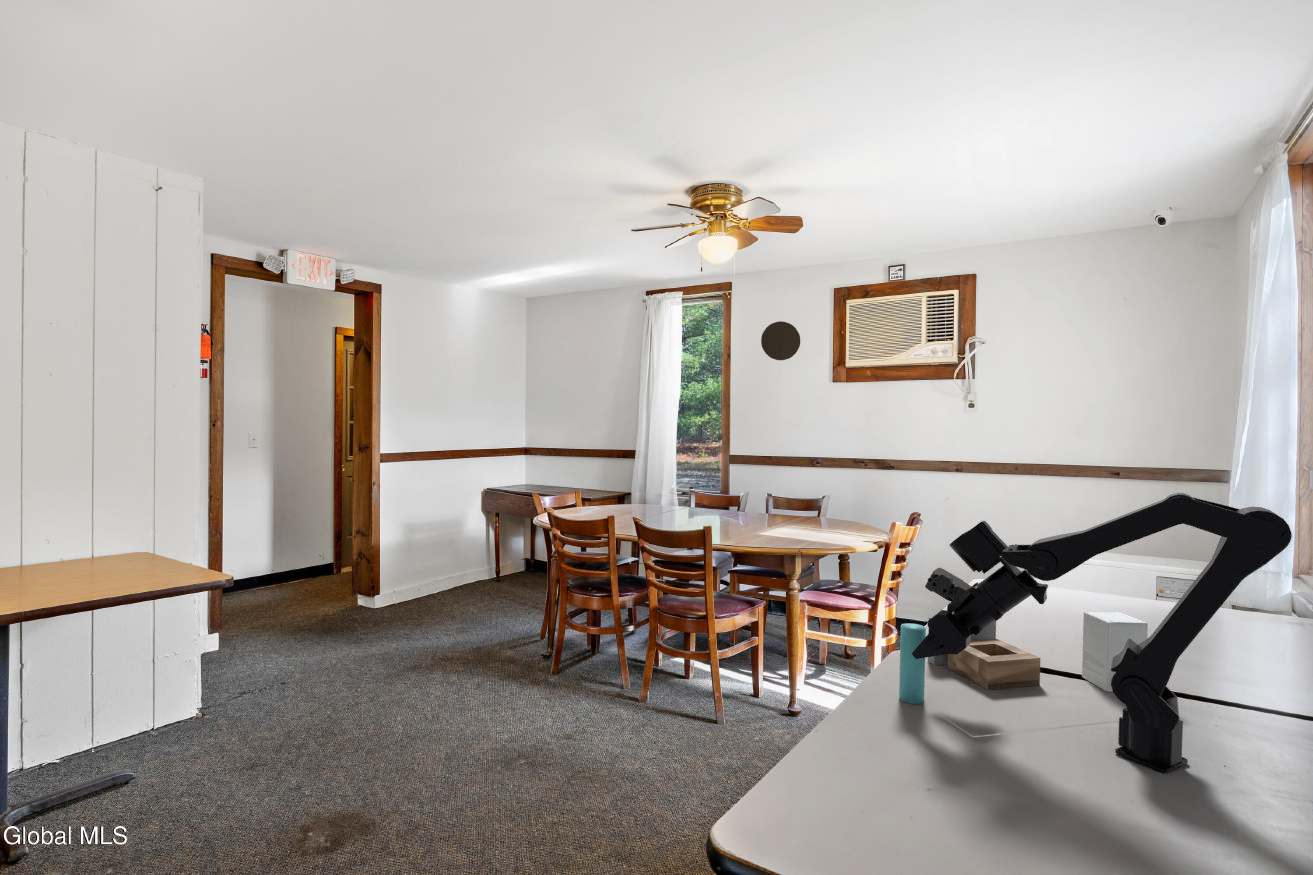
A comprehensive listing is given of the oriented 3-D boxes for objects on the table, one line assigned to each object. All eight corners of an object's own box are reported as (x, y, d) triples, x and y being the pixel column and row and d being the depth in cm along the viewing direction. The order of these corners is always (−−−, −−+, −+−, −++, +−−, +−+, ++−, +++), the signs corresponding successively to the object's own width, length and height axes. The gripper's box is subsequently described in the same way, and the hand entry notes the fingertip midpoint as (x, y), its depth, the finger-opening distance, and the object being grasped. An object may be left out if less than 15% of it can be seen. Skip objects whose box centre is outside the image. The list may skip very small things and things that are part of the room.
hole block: (1039, 685, 123) (1040, 657, 123) (987, 689, 120) (988, 661, 120) (995, 663, 133) (996, 638, 133) (947, 667, 131) (948, 642, 131)
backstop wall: (995, 660, 136) (996, 616, 135) (934, 665, 132) (935, 619, 132) (988, 657, 138) (989, 613, 137) (927, 662, 134) (928, 617, 134)
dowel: (929, 701, 115) (930, 628, 115) (912, 705, 113) (914, 631, 113) (910, 693, 118) (911, 622, 118) (894, 697, 117) (895, 625, 116)
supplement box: (1147, 693, 120) (1149, 623, 120) (1105, 692, 120) (1107, 622, 120) (1120, 678, 127) (1122, 611, 127) (1080, 677, 128) (1082, 610, 127)
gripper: (971, 547, 119) (904, 598, 125) (944, 564, 104) (870, 621, 110) (1019, 599, 114) (948, 650, 121) (999, 625, 99) (919, 681, 106)
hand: (921, 648), depth 115 cm, fingers open, 9 cm apart
